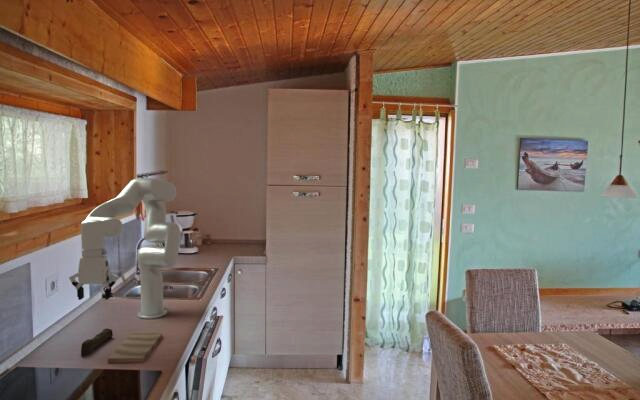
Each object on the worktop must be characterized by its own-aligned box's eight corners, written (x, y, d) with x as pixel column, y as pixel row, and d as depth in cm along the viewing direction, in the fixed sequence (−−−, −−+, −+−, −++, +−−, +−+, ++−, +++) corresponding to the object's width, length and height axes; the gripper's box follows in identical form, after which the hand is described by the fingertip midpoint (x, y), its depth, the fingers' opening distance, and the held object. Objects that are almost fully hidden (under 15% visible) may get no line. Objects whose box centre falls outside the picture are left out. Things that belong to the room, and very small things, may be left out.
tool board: (131, 337, 188) (131, 333, 188) (162, 336, 189) (162, 333, 189) (107, 362, 164) (107, 358, 164) (143, 362, 165) (143, 357, 165)
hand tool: (103, 337, 188) (103, 326, 188) (113, 338, 188) (112, 326, 187) (74, 357, 169) (73, 344, 169) (84, 357, 169) (84, 345, 169)
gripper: (120, 251, 180) (121, 295, 181) (73, 251, 179) (75, 296, 180) (113, 255, 172) (114, 301, 174) (64, 255, 171) (65, 301, 173)
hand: (94, 298), depth 177 cm, fingers open, 9 cm apart
